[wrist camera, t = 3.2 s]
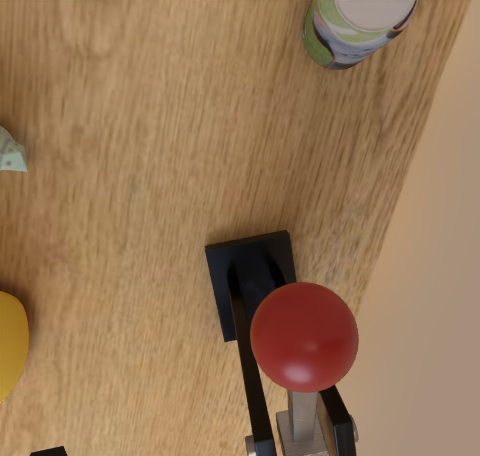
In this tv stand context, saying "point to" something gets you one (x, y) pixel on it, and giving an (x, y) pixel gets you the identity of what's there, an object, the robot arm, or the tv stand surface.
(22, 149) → the pale green rounded lump
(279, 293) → the lever
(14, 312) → the teapot
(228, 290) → the bracket
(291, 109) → the tv stand surface
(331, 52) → the beverage can
